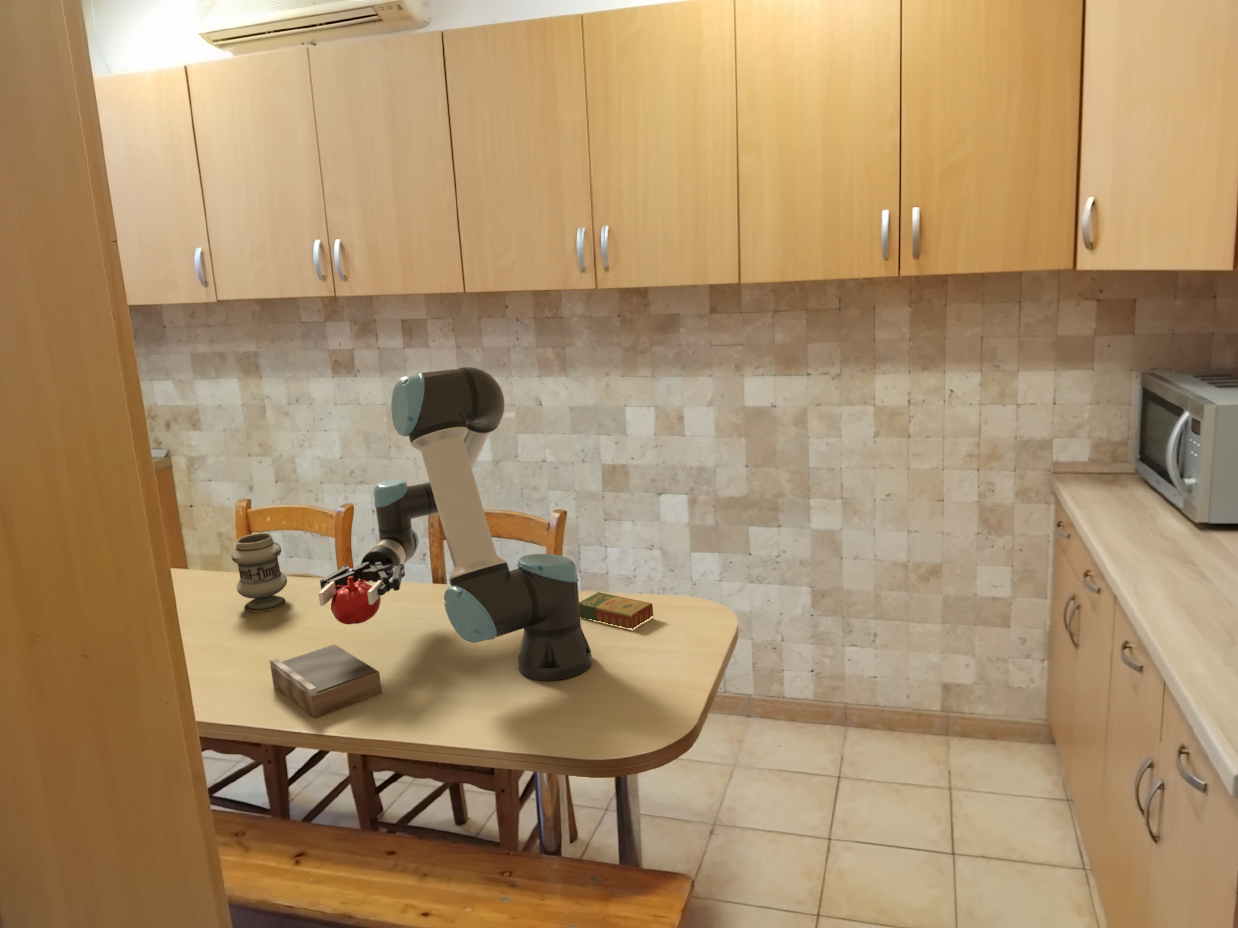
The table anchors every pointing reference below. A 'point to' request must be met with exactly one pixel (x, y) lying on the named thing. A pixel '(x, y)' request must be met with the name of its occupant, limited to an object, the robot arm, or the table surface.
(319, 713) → the tray
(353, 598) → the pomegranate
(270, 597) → the apothecary jar
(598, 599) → the carton
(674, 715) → the table surface
